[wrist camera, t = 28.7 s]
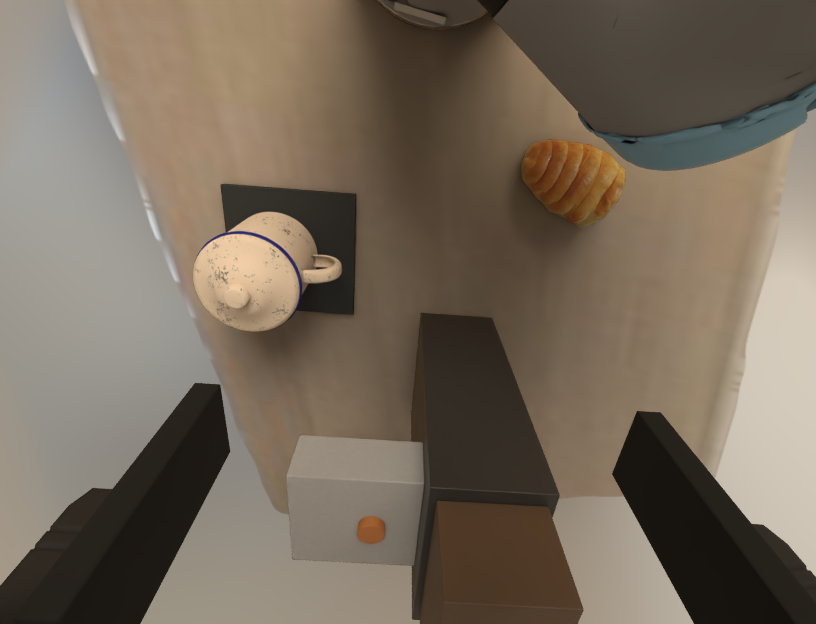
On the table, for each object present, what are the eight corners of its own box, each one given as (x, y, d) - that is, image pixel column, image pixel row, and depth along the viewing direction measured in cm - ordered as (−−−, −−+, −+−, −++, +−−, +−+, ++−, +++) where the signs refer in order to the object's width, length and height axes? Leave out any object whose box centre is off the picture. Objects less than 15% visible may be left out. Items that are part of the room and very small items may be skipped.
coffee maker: (336, 406, 53) (258, 719, 26) (336, 306, 47) (234, 579, 20) (474, 415, 53) (538, 730, 26) (492, 317, 47) (600, 598, 20)
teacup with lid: (240, 293, 45) (190, 349, 35) (223, 208, 41) (160, 243, 31) (351, 292, 45) (334, 348, 35) (345, 207, 41) (323, 242, 31)
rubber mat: (236, 303, 47) (234, 306, 46) (222, 183, 41) (220, 184, 40) (353, 312, 47) (353, 314, 46) (356, 193, 41) (355, 194, 41)
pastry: (503, 187, 41) (512, 194, 37) (541, 118, 38) (554, 118, 35) (583, 228, 43) (598, 238, 39) (625, 164, 40) (645, 169, 37)
